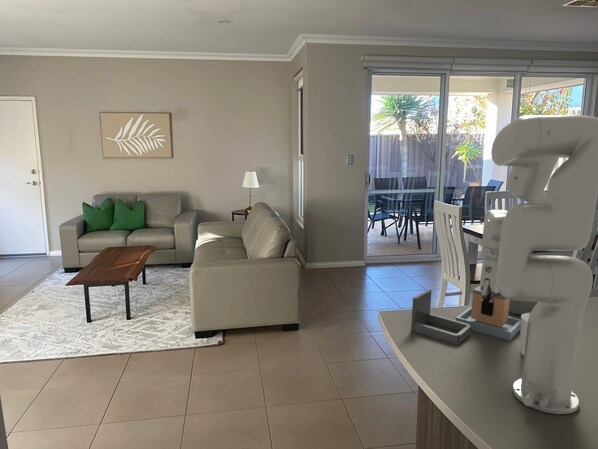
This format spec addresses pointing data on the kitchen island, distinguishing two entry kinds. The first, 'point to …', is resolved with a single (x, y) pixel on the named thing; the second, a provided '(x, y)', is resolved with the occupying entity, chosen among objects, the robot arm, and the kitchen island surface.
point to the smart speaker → (521, 307)
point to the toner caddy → (498, 309)
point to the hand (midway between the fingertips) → (490, 311)
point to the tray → (491, 326)
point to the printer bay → (435, 321)
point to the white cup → (523, 331)
